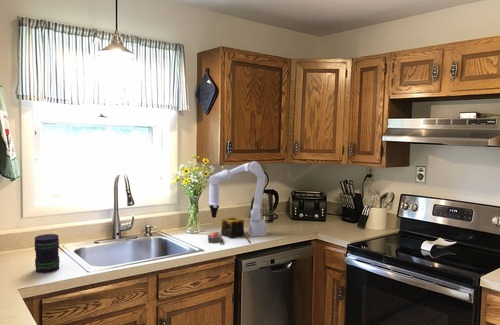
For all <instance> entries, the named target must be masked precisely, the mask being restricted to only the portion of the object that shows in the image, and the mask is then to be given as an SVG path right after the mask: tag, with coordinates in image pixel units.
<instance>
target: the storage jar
mask: <svg viewBox="0 0 500 325" xmlns="http://www.w3.org/2000/svg"><path fill="white" fill-rule="evenodd" d="M59 240H60V238H59V235H58V234H56V233H47V234H41V235H40V234H39V235H36V236H35V237H34V251H35V259H34V266H35V272H36V273H37V274H49V273H50V274H51V273H55V272H58V271H59V270H60V255H59V248H60V241H59Z"/></svg>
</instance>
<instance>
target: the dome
mask: <svg viewBox="0 0 500 325" xmlns="http://www.w3.org/2000/svg"><path fill="white" fill-rule="evenodd" d="M210 235H211V237H218V235H217V233H216V232H215V231H214V232H213V231H212V233H211V234H210Z"/></svg>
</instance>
